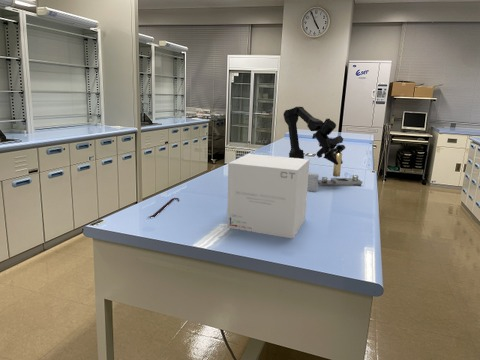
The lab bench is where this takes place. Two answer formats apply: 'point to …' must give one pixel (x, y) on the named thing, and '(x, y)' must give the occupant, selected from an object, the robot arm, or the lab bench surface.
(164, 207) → the crowbar
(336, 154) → the brass pin
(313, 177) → the medicine box
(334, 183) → the metal bracket
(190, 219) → the lab bench surface
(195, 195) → the lab bench surface
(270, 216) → the cube
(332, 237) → the lab bench surface
